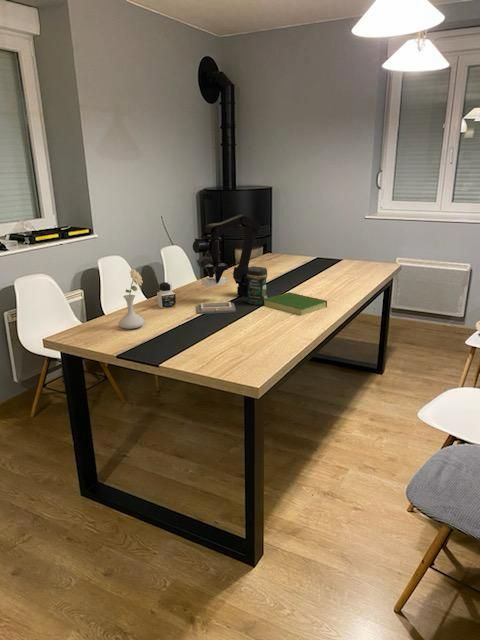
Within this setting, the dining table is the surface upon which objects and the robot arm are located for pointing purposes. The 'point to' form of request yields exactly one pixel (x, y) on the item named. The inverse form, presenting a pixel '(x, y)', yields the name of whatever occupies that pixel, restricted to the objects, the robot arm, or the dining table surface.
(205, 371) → the dining table surface
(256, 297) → the coffee jar
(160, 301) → the medicine bottle
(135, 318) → the flower in vase
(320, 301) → the hardcover book
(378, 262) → the dining table surface
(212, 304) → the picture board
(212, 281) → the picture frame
